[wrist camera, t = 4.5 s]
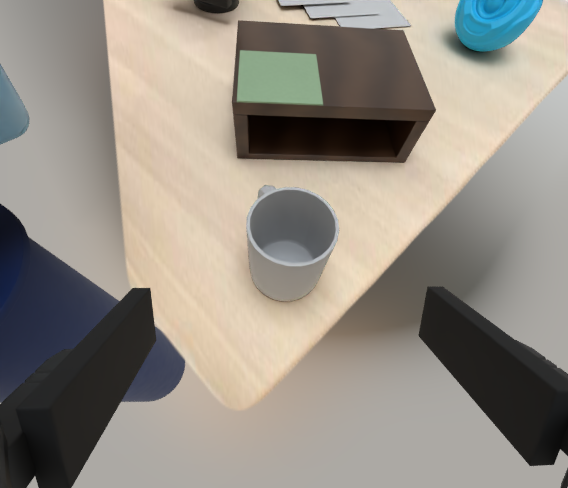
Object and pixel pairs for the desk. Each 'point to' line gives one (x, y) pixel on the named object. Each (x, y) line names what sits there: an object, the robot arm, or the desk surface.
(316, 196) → the cup
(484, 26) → the blue rounded piece
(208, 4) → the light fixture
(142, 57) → the desk surface
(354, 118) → the shelf
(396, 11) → the paper stack
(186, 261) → the desk surface
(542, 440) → the robot arm
